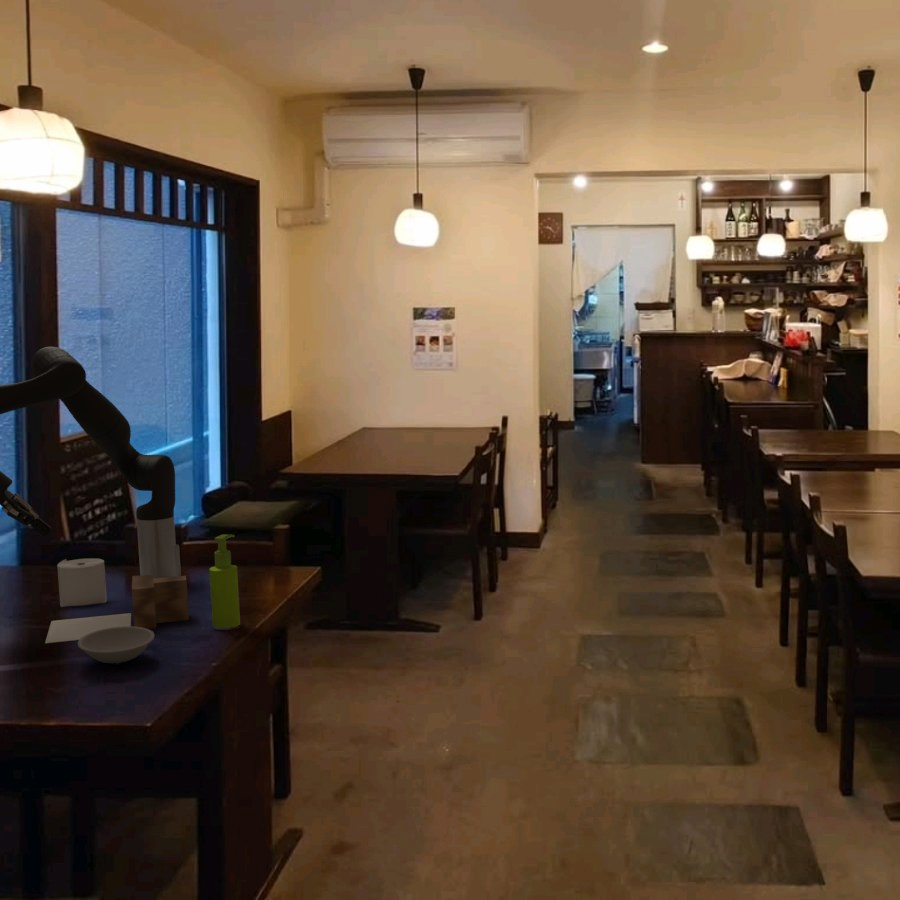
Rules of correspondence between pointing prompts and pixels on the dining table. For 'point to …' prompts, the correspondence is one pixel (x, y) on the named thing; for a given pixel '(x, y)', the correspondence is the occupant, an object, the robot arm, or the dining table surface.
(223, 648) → the dining table surface
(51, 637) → the board
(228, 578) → the soap dispenser
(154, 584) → the t block
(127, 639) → the dish
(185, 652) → the dining table surface
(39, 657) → the dining table surface
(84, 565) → the toilet tissue
